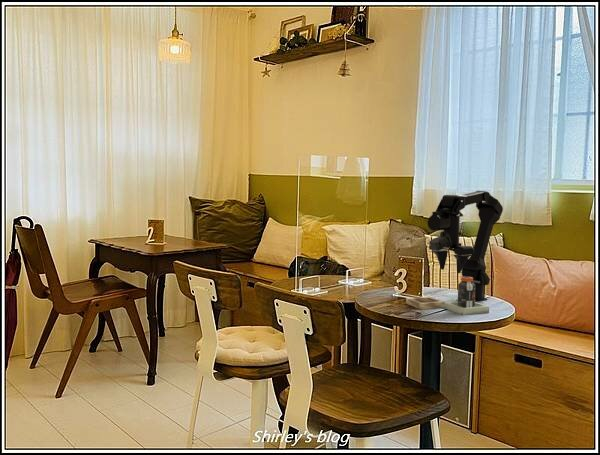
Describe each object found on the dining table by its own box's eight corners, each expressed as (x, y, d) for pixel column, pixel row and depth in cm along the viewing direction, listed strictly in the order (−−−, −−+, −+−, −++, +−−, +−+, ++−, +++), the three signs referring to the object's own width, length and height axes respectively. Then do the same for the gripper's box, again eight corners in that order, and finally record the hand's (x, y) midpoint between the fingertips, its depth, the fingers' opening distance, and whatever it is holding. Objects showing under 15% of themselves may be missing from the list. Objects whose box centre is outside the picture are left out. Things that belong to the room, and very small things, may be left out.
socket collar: (428, 301, 220) (429, 296, 220) (444, 307, 210) (444, 301, 210) (406, 303, 216) (406, 298, 216) (421, 309, 207) (421, 303, 207)
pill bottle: (475, 310, 203) (476, 278, 202) (458, 309, 204) (458, 277, 203) (473, 307, 209) (474, 275, 208) (456, 306, 210) (457, 275, 209)
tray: (469, 305, 213) (469, 300, 213) (489, 312, 203) (489, 306, 203) (444, 308, 209) (444, 302, 209) (463, 314, 199) (463, 308, 199)
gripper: (417, 228, 218) (417, 269, 219) (450, 232, 201) (449, 276, 202) (441, 226, 222) (440, 267, 224) (475, 231, 205) (474, 274, 207)
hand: (450, 271), depth 214 cm, fingers open, 9 cm apart
